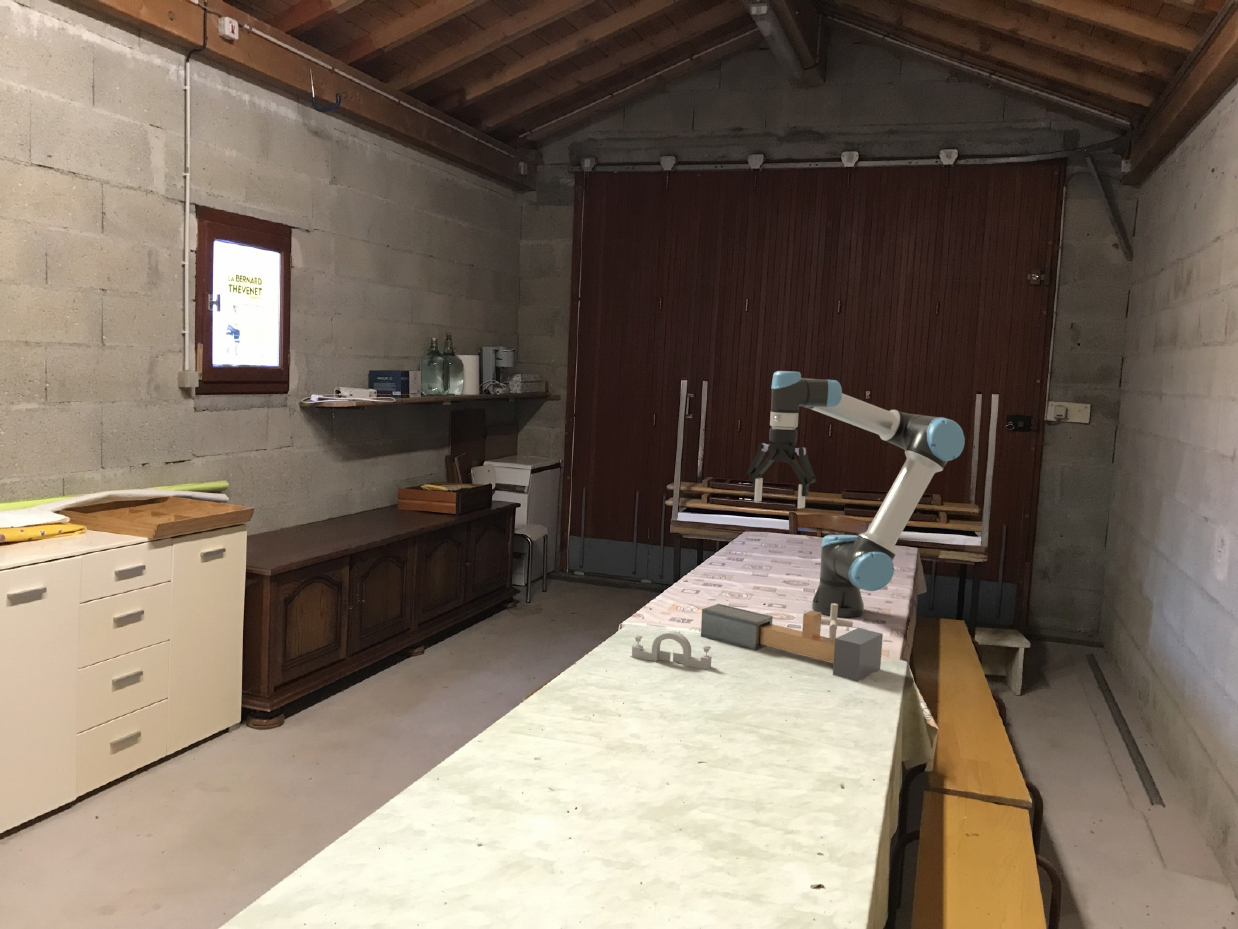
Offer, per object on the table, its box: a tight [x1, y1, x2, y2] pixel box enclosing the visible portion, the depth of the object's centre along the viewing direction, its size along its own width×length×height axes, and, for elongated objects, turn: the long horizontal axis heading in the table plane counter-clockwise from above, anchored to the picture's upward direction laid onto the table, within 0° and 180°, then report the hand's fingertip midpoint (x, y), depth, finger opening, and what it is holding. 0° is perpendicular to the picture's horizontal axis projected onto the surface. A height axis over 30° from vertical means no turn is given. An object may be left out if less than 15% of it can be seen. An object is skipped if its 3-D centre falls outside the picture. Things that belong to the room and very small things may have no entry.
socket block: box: [832, 627, 884, 682], centre depth 231 cm, size 12×6×9 cm, turn 141°
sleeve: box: [700, 603, 773, 652], centre depth 253 cm, size 8×17×8 cm, turn 51°
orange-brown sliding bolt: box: [758, 609, 835, 663], centre depth 240 cm, size 4×30×10 cm, turn 50°
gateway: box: [631, 630, 712, 670], centre depth 234 cm, size 20×2×8 cm, turn 69°
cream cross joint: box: [821, 603, 854, 639], centre depth 256 cm, size 10×10×10 cm
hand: (779, 504), depth 263 cm, fingers open, 13 cm apart
